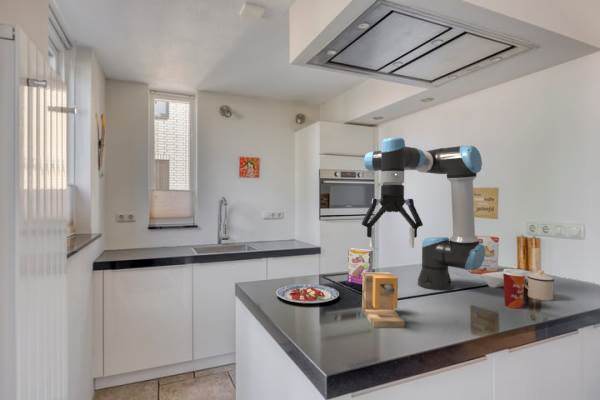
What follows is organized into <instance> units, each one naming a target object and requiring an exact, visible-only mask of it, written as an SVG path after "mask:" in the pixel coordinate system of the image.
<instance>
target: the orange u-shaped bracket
mask: <svg viewBox="0 0 600 400" xmlns="http://www.w3.org/2000/svg"><path fill="white" fill-rule="evenodd" d="M380 284H390V286H393V287H394V290H395V291H394V293H393V294H391V295H390V306H391V307H392V308H393V309H398V301H399V299H398V295H399V293H398V292H399V291H398V289H399V278H398V277H397V276H396V275H394V276H373V307H374V308H379V306H380Z"/></svg>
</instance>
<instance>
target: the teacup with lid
mask: <svg viewBox="0 0 600 400" xmlns="http://www.w3.org/2000/svg"><path fill="white" fill-rule="evenodd" d="M527 279H528V283H526V280H527ZM554 281H555V279H554V278H553V276H550V275H549V274H547V273H544V270H540V269H539V270H537V272H535V273H534V274H529V275H528V278H525V280H524V288H525V289H527V297H528V298H530V299H533V300H538V301H542V302H543V301H546V302H548V301H549V302H550V301H554Z"/></svg>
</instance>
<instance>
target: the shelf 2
mask: <svg viewBox="0 0 600 400" xmlns="http://www.w3.org/2000/svg"><path fill="white" fill-rule="evenodd" d="M517 270H522V271H524V272H525V274H526V276H525V278H528V275H529V274H534V273H536V271H534V272H533V271H530V270H523V269H517ZM503 271H504V270H502V271H498V272H493V273H485V274H482V273H480V277H481V278H482V279H484V282H485V283H487V286H488V287H490V288H502V287H504V276H503V273H502V272H503ZM526 284H528V279H527V280H526Z"/></svg>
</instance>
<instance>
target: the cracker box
mask: <svg viewBox="0 0 600 400" xmlns="http://www.w3.org/2000/svg"><path fill="white" fill-rule="evenodd" d="M475 236H476V237H477V238H479V244H482V245H484V248H485V257H484V261H483V263H482V265H481V267H480V268H479V269H478V270H467V271H468V272H469V273H471V274H485V273H493V272H499V271H498V269H499V250H500V249H499V245H500V238H499V237H498V236H495V235H494V236H491V235H490V236H489V235H475Z"/></svg>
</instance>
